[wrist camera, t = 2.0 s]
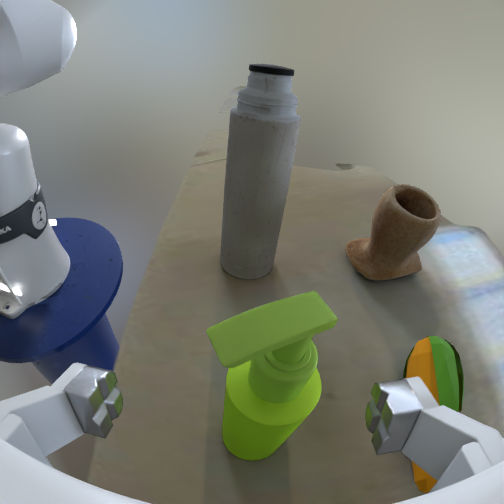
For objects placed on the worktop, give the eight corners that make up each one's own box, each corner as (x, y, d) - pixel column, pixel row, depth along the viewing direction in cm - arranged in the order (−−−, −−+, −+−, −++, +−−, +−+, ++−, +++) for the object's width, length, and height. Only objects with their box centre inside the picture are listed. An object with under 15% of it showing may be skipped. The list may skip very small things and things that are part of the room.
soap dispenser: (202, 423, 25) (189, 287, 13) (264, 400, 28) (318, 253, 15) (227, 473, 21) (248, 408, 9) (291, 445, 24) (391, 336, 11)
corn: (467, 323, 28) (482, 480, 13) (439, 358, 33) (439, 495, 17) (419, 314, 29) (420, 487, 14) (395, 351, 34) (382, 498, 19)
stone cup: (367, 298, 41) (408, 213, 31) (335, 248, 50) (360, 169, 40) (431, 285, 45) (470, 215, 35) (397, 243, 53) (425, 176, 44)
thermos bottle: (234, 238, 49) (252, 61, 31) (279, 254, 47) (315, 71, 29) (210, 267, 43) (222, 61, 25) (261, 286, 41) (298, 71, 23)
